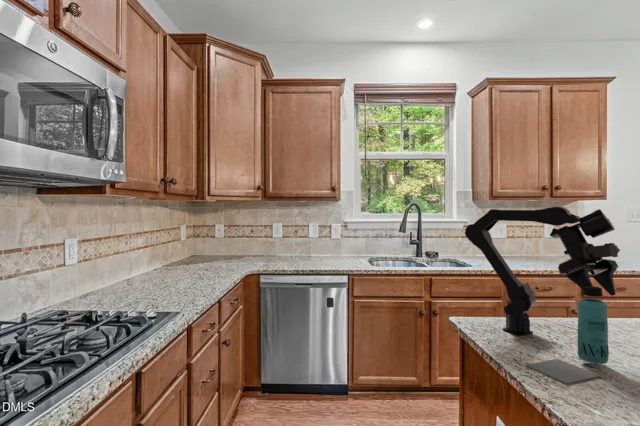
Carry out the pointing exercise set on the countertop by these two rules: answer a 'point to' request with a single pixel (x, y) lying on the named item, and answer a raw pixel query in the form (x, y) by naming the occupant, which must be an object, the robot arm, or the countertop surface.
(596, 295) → the beverage bottle
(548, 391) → the countertop surface
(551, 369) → the mat
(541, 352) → the countertop surface
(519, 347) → the countertop surface
